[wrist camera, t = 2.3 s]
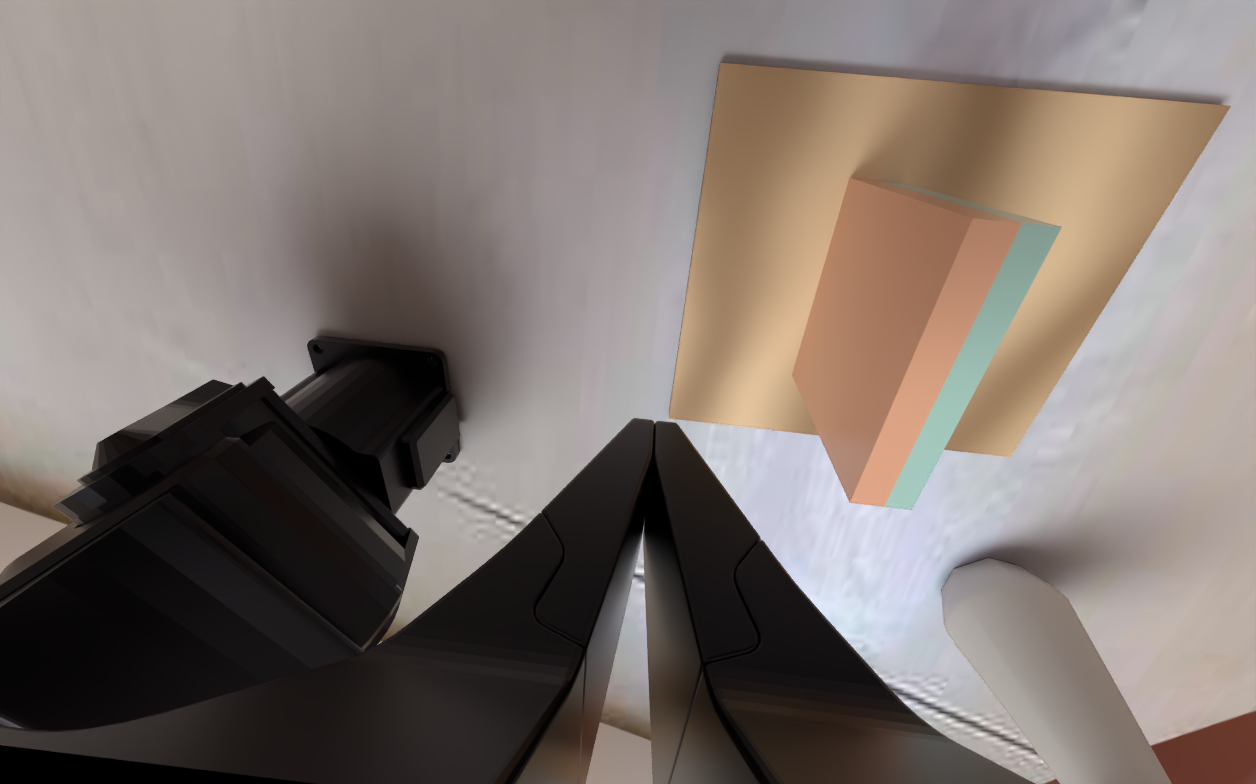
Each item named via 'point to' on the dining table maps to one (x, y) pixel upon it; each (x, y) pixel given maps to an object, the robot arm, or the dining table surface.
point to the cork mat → (933, 160)
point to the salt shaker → (1046, 674)
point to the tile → (908, 328)
